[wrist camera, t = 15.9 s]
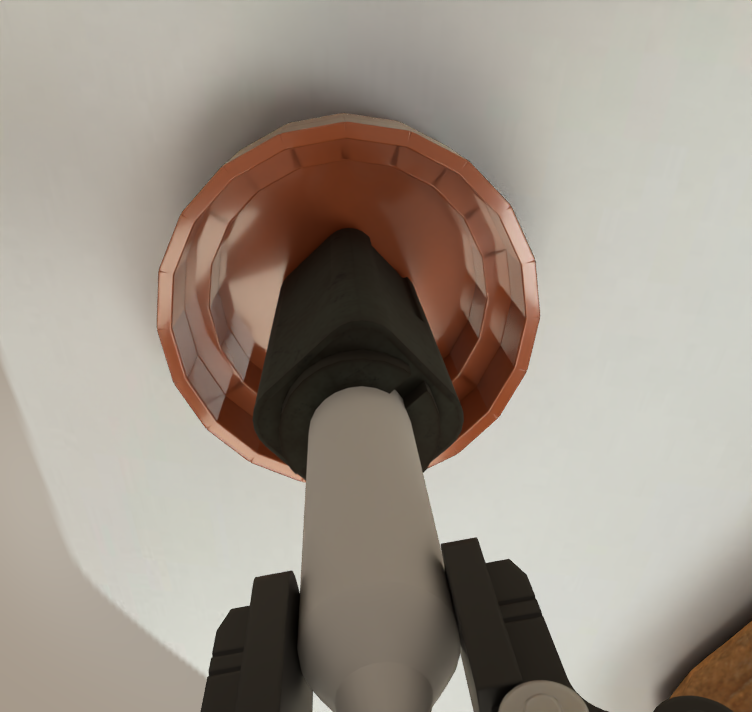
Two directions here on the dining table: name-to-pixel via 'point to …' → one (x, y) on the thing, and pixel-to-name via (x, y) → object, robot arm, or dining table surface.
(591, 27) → the dining table surface
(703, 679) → the bread
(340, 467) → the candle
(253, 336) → the bowl
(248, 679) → the robot arm
